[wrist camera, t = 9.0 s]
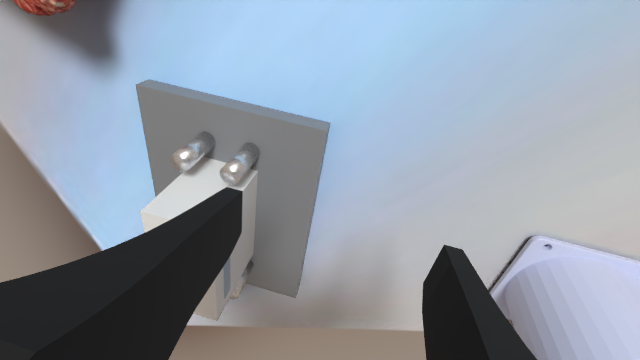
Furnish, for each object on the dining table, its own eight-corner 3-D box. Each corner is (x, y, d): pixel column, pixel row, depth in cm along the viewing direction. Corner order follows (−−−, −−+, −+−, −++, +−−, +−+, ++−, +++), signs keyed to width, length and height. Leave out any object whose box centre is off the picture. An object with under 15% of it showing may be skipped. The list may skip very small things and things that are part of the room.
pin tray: (330, 122, 19) (314, 155, 16) (299, 286, 28) (284, 329, 25) (148, 79, 20) (96, 101, 17) (174, 250, 29) (144, 287, 26)
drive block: (258, 171, 21) (214, 232, 16) (253, 253, 25) (217, 321, 20) (200, 155, 21) (139, 211, 16) (206, 239, 26) (159, 302, 21)
